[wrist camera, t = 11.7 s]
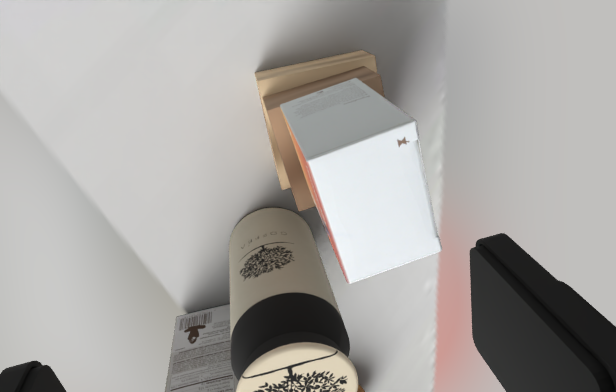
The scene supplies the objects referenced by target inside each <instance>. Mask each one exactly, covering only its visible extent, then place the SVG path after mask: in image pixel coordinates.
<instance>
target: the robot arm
mask: <svg viewBox="0 0 616 392" xmlns="http://www.w3.org/2000/svg"><path fill="white" fill-rule="evenodd" d="M470 274H471V275H470V276H471V306H472V333H473V340H474V343H475V346H476V348H477V350H478V351H479V353H480V354H481V356H482V357H483V359H484V360H485V362H486V363H487V364H488V366H489V367H490V369H491V370H492V372H493V373H494V375H495V376H496V377H497V379H498V380H499V382H500V383H501V385H502V386H503V387H504V389H505V390H506V392H616V327H615V326H614V325H613V324H612V323H611V322H610V321H608V320H607V319H606V318H605V317H604V316H603V315H602V314H600V313H599V312H598V311H597V310H596V309H595V308H594V307H592V306H591V305H590V304H589V303H588V302H587V301H586V300H584V299H583V298H582V297H581V296H580V295H579V294H578V293H577V292H575V291H574V290H573V289H572V288H571V287H570V286H568V285H567V284H565V283H564V282H561V281H558V280H557V279H555V278H554V277H553V276H552V275H551V274H550V273H549V272H548V271H547V270H545V269H544V268H543V267H542V266H541V265H540V264H539V263H538V262H536V261H535V260H534V259H533V258H532V257H531V256H530V255H529V254H527V253H526V252H525V251H524V250H523V249H522V248H521V247H520V246H519V245H517V244H516V243H515V242H514V241H513V240H512V239H511V238H510V237H508V236H507V235H506V234H502V233H500V234H497V235H493V236H490V237H486V238H482V239H479V240H478V241H477V242H476V247H474V248H472V249H471V250H470ZM0 392H66V390H65V389H64V387H63V386H62V384H61V383H60V381H59V380H58V378H57V377H56V375H55V373H54V372H53V370H52V369H51V368H50V367H49V366H48V365H44V366H43V365H42V364H41V363H40V362H38V361H31V362H27V363H24V364H20V365H16V366H13V367H9V368H6V369H5V370H3V371H2V373H1V374H0Z"/></svg>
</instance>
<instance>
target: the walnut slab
mask: <svg viewBox="0 0 616 392" xmlns="http://www.w3.org/2000/svg"><path fill="white" fill-rule="evenodd" d="M354 78H357V79H359V80H360V81H362V82H363V83H364V84H366V85H367V86H369V87H370V88H371V89H373V90H374V91H376V92H377V93H378V94H380V95H381V96H383V97H384V91H383V86H382V81H381V76H380V75H379V74H377V73H375V72H374V71H372V70H370V69H368V68H367V67H365V66H362V67H359V68H356V69H352V70H349V71H346V72H343V73H340V74H336V75H333V76H330V77H327V78H323V79H320V80H317V81H314V82H311V83H307V84H304V85H301V86H298V87H294V88H291V89H288V90H285V91H281V92H278V93H275V94H272V95H269V96H265V97H262V98H263V101H264V104H265V108H266V111H267V114H268V117H269V120H270V123H271V126H272V130H273V133H274V136H275V139H276V142H277V145H278V149H279V152H280V155H281V158H282V161H283V164H284V168H285V171H286V174H287V177H288V180H289V183H290V187H291V190H292V193H293V196H294V199H295V202H296V205H297V208H298V211H303V210H306V209H309V208H312V207H315V203H314V201H313V199H312V196H311V193H310V190H309V187H308V185H307V182H306V179H305V176H304V173H303V170H302V167H301V164H300V161H299V158H298V155H297V152H296V149H295V146H294V144H293V141H292V138H291V135H290V132H289V130H288V127H287V124H286V122H285V119H284V116H283V114H282V111H281V109H280V105H281V104H283V103H286V102H289V101H292V100H294V99H297V98H300V97H303V96H306V95H308V94H311V93H314V92H317V91H320V90H323V89H325V88H328V87H331V86H334V85H337V84H340V83H343V82H345V81H348V80H351V79H354ZM384 98H385V97H384Z"/></svg>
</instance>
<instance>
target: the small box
mask: <svg viewBox="0 0 616 392" xmlns="http://www.w3.org/2000/svg"><path fill="white" fill-rule="evenodd" d="M280 109H281V111H282V114H283V116H284V119H285V122H286V124H287V127H288V130H289V132H290V135H291V138H292V141H293V144H294V146H295V149H296V152H297V155H298V158H299V161H300V164H301V167H302V170H303V173H304V176H305V179H306V182H307V185H308V187H309V190H310V193H311V196H312V199H313V201H314V203H315V206H316V208H317V210H318V212H319V215H320V217H321V220H322V222H323V225H324V228H325V230H326V232H327V234H328V237H329V240H330V242H331V245H332V247H333V249H334V252H335V254H336V257H337V259H338V261H339V264H340V266H341V269H342V271H343V274H344V276H345V278H346V281H347V283H348V284H351V283H353V282H356V281H359V280H362V279H365V278H368V277H371V276H374V275H376V274H379V273H382V272H385V271H388V270H390V269H393V268H396V267H399V266H401V265H404V264H407V263H410V262H413V261H415V260H418V259H421V258H424V257H426V256H429V255H432V254H435V253H438V252H440V251H441V250H442V246H441V243H440V239H439V235H438V231H437V227H436V223H435V218H434V213H433V209H432V204H431V199H430V195H429V190H428V185H427V180H426V175H425V170H424V165H423V160H422V154H421V149H420V143H419V134H418V128H417V121H416V120H415V119H413V118H412V117H411V116H409V115H408V114H407V113H405V112H404V111H402V110H401V109H399V108H398V107H396V106H395V105H394V104H392V103H391V102H390V101H388V100H387V99H385V98H384V97H383V96H381V95H380V94H378V93H377V92H376V91H374V90H373V89H371V88H370V87H369V86H367V85H366V84H364V83H363V82H362V81H360V80H359V79H357V78H354V79H351V80H348V81H345V82H343V83H340V84H337V85H334V86H331V87H328V88H325V89H323V90H320V91H317V92H314V93H311V94H308V95H306V96H303V97H300V98H297V99H294V100H292V101H289V102H286V103H283V104H281V105H280Z"/></svg>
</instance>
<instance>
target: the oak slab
mask: <svg viewBox="0 0 616 392" xmlns="http://www.w3.org/2000/svg"><path fill="white" fill-rule="evenodd" d="M362 66H365V67H367V68H368V69H370V70H372V71H374V72H375V73H377V68H376V59H375V56H374V55H372V54H370V53H368V52H365V51H363V50H359V51H355V52H350V53H345V54H340V55H336V56H331V57H326V58H322V59H317V60H312V61H307V62H303V63H298V64H293V65H289V66H284V67H279V68H274V69H270V70H265V71H260V72H256V73H255V77H256V81H257V86H258V90H259V95H260V99H261V104H262V108H263V112H264V117H265V121H266V126H267V130H268V135H269V139H270V143H271V148H272V152H273V157H274V161H275V166H276V170H277V174H278V178H279V181H280V185H281V188H282V190H284V189H288V188H291V187H290V183H289V180H288V177H287V174H286V171H285V168H284V164H283V161H282V158H281V155H280V152H279V149H278V145H277V142H276V139H275V136H274V133H273V130H272V126H271V123H270V120H269V117H268V114H267V111H266V108H265V104H264V101H263V98H262V97H265V96H269V95H272V94H275V93H278V92H281V91H285V90H288V89H291V88H294V87H298V86H301V85H304V84H307V83H311V82H314V81H317V80H320V79H323V78H327V77H330V76H333V75H336V74H340V73H343V72H346V71H349V70H352V69H356V68H359V67H362Z"/></svg>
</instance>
